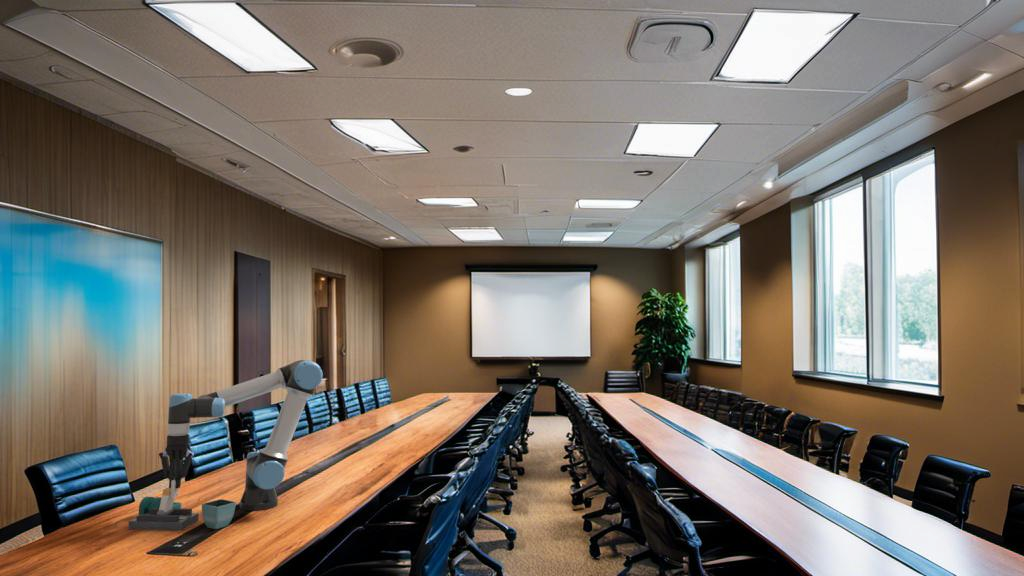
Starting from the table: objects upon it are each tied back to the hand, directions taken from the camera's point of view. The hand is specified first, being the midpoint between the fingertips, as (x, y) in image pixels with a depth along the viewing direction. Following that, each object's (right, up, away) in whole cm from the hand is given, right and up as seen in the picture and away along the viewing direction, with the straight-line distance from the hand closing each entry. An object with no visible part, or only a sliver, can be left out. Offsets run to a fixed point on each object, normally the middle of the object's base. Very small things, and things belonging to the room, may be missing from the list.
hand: (174, 496), depth 231 cm
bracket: (-13, -12, +15) cm, 24 cm away
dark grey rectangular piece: (-3, -8, 0) cm, 8 cm away
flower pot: (+18, -11, -2) cm, 21 cm away
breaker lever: (-4, -7, 0) cm, 8 cm away
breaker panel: (-3, -11, -1) cm, 11 cm away
